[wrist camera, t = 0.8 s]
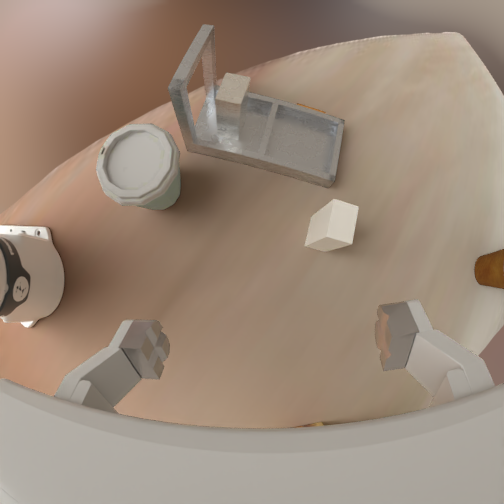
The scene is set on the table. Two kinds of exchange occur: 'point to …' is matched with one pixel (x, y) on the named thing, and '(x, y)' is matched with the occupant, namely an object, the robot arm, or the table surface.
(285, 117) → the rack
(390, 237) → the table surface
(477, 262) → the disposable coffee cup
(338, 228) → the cream rectangular block
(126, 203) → the disposable coffee cup
